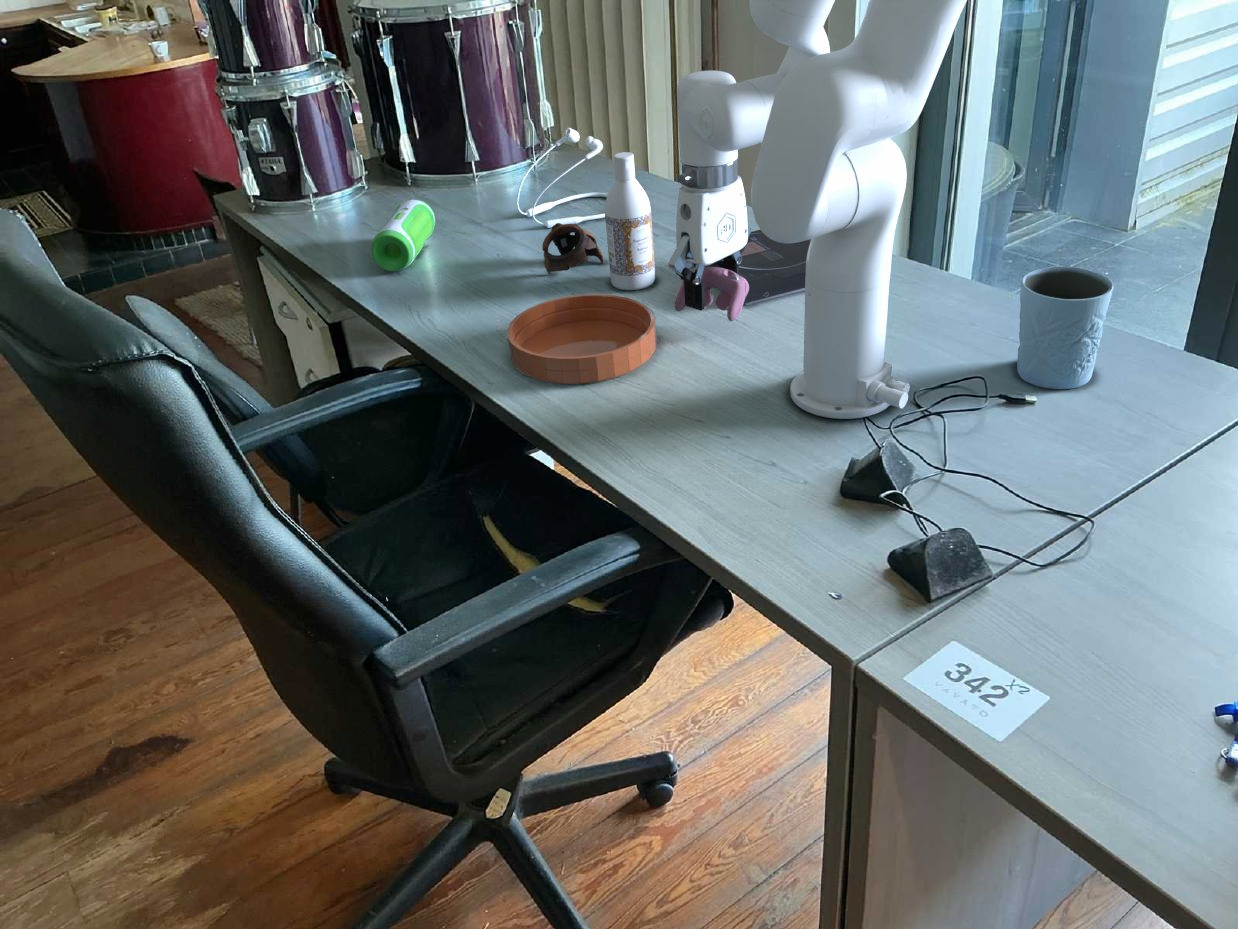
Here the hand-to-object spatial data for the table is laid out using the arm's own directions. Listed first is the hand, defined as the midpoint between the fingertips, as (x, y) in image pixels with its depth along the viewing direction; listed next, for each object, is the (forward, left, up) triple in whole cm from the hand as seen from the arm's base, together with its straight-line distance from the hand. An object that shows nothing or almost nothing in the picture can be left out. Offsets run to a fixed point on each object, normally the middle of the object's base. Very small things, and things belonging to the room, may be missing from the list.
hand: (712, 297), depth 145 cm
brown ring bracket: (+33, -3, -4) cm, 33 cm away
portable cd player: (+5, -18, -4) cm, 19 cm away
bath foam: (+20, -4, -4) cm, 21 cm away
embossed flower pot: (-43, -14, -4) cm, 45 cm away
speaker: (+61, +10, -4) cm, 62 cm away
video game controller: (0, 0, -2) cm, 2 cm away
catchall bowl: (+9, +17, -4) cm, 20 cm away
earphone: (+52, -21, -4) cm, 56 cm away
